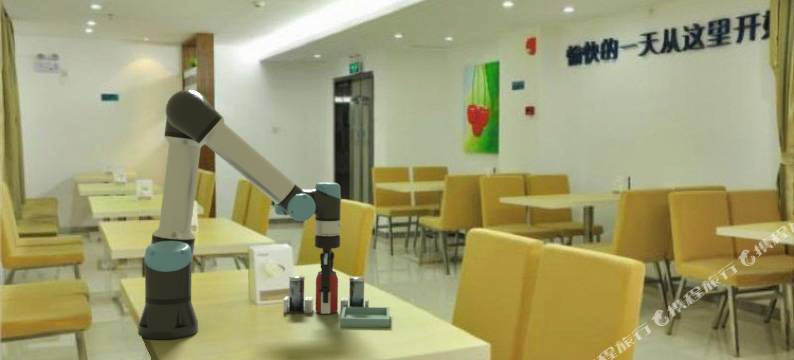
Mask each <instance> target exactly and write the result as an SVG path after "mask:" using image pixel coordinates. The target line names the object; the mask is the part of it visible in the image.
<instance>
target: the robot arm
mask: <svg viewBox="0 0 794 360" xmlns="http://www.w3.org/2000/svg"><path fill="white" fill-rule="evenodd" d="M165 115H166V121H165V126H164V127H165V128H164V138H165V139H166V141H167V142H168V150H167V156H166V157H167V158H166V159H167V160H166V168H165V174H164V175H165V176H164V183H163V191H162V192H163V193H162V199H161V207H160V215H159V225H158V228H157V229H156V230H155V231H153V232H152V235H151V242H150V244H149V245H148V246H147V247H146V249H145V253H144V258H143V259H144V261H143V262H144V265H145V266H144V271H145V272H144V274H145V275H144V278H145V279H144V280H145V281H144V284H145V285H144V287H145V288H144V290H145V292H144V295H145V298H144V299H145V301H144V307H143V310H142V313H141V316H140V319H139V322H138V325H137V326H138V327H137V331H138V332H137V334H138V335H139V337H142V338H144V339H148V340H149V339H150V340H172V339H173V340H175V339H180V338H186V337H189V336H191V335H194V334H196V333H197V332H198V331H199V321H198V317H197V314H196V312H195V310H194V305H193V303H192V266H193V262H194V249H195V241H196V236H195V235H194V234H193V232H192V231H191V228H192V221H193V212H194V205H195V196H196V190H197V189H196V188H197V187H196V186H197V181H198V180H197V179H198V171H199V163H200V157H201V156H200V155H201V148H202V147H203V146H204V145H205V146H206V147H208V148H209V149H210V150H211V151H212V152H214V153H215V154H216V155H217V156H219V157H220V158H221V159H222V160H223V161H225V162H226V164H228V165H229V166H230V167H232V169H234V170H235V171H237V173H239V174H240V175H241V176H242V177H243V178H244V179H246V180H248V182H250V183H251V184H252V185H253V186H255V188H257V189H258V190H259V191H260V192H261V193H263V194H264V195H265V196H266V197H268V198H269V199H270V200H271V201H272V202H273V203H274V211H275V212H274V213H275V214H276V215H277V216H278V215H279V216H290V218H291V219H293V220H295V221H296V222H297V221H298V222H306V221H308V220H310V219H311V218H313V216H314V215H315V216H314V233H315V236H314V247H316V248H317V249H322V252H320V254H319V259H320V269H321V270H320V271H321V290H319V292H321V313H322V315H331V314H330V298H331V291H330V275H331V271H334V269H333V267H334V259H335V252H334V250H333V249H338V248H340V246H341V235H340V233H341V227H343V223H341V208H342V207H341V204H342V203H341V202H342V196H341V195H342V194H341V186H340V184H339V183H337V182H324V181H323V182H316V184H315V187H314V188H311V189H301V187H299V186H298V185H297V184H296V183H295V182H293V180H291V178H289V177H288V176H286V175H285V174H284V173H283V172H282V171H281V170H279V169H278V168H277V167H276V166H275V165H274V164H273V163H272V162H270V161H269V160H268V159H267V158H266V157H265V156H263V155H262V154H261V153H260V152H258V150H256V148H254V147H253V146H252V145H250V144H249V143H248V142H247V140H245V139H243V138H242V137H241V136H240V135H239V134H238V133H237V132H236V131H234V130H233V129H232V128H231V127H229V126H228V125H227V124H226V123H225V118H224V116H222V115H221V114H220V113H219V112H218V111H217V110H216V109H215V108H214V107H213V105H211V103H210V102H209V101H208V100H207V98H206V96H204V94H201V92H198V91H196V90H193V89H183V90H179V91H177V92H175V93H174V94H172V95H171V97H170V98H169V99H168V101H167V104H166V107H165ZM321 313H320V314H321Z"/></svg>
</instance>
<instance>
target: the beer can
mask: <svg viewBox="0 0 794 360" xmlns="http://www.w3.org/2000/svg"><path fill="white" fill-rule="evenodd" d="M319 290H321V270H320V271H318V272H317V275H316V278H315V312H316V313H318V314H322V313H321V292H319ZM330 291H331V298H330V314H329V315H331V314H334V313H337V312H338V303H339V299H338V297H339V279H338V275H337V272H336V271H335V270H333V271H331V275H330ZM322 315H323V314H322Z"/></svg>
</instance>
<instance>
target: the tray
mask: <svg viewBox="0 0 794 360" xmlns="http://www.w3.org/2000/svg"><path fill="white" fill-rule="evenodd" d="M390 316H391V315H390V307H387V306H382V307H381V306H369V307H365V306H364V307H349V306H348V307H343V310H342V314H340V324H339V327H340V328H381V327H389V328H390V324H391V323H390V322H391V321H390V320H391V319H390Z"/></svg>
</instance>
